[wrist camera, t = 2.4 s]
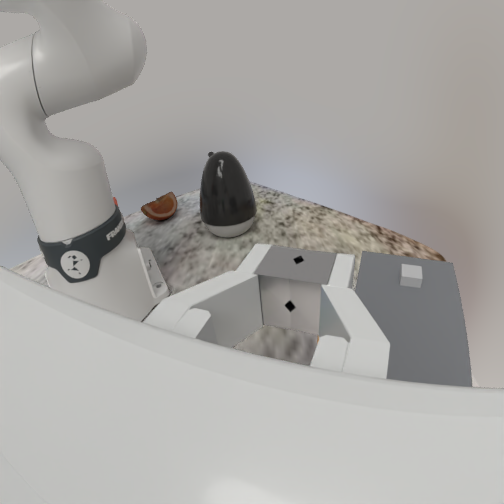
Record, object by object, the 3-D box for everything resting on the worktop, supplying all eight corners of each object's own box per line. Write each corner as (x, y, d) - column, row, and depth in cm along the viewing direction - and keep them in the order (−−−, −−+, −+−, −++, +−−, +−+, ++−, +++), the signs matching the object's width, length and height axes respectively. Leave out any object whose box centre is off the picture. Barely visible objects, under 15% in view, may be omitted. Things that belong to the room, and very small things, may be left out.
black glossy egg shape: (243, 213, 66) (234, 142, 58) (268, 233, 58) (261, 150, 50) (196, 228, 62) (183, 153, 54) (216, 250, 54) (201, 164, 46)
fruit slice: (154, 230, 64) (149, 208, 61) (138, 223, 68) (133, 202, 65) (184, 214, 69) (180, 193, 66) (167, 208, 73) (163, 189, 70)
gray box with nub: (426, 451, 21) (478, 384, 15) (321, 437, 24) (334, 367, 19) (429, 317, 35) (451, 242, 29) (355, 307, 39) (364, 231, 33)
